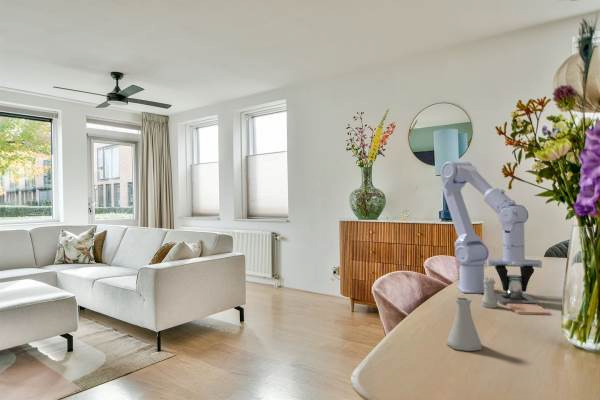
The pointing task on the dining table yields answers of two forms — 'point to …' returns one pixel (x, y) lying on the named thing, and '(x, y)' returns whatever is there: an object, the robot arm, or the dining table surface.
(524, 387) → the dining table surface
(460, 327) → the flask
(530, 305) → the tile
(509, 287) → the glass jar
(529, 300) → the bore plate
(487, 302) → the rook chess piece
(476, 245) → the robot arm
